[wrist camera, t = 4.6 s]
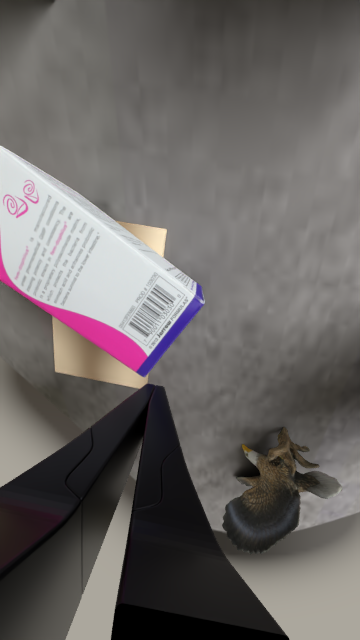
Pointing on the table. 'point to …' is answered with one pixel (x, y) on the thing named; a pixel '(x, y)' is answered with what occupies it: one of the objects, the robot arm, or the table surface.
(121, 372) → the pale gold metal plate
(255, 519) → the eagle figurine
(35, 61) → the table surface
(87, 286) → the supplement box
